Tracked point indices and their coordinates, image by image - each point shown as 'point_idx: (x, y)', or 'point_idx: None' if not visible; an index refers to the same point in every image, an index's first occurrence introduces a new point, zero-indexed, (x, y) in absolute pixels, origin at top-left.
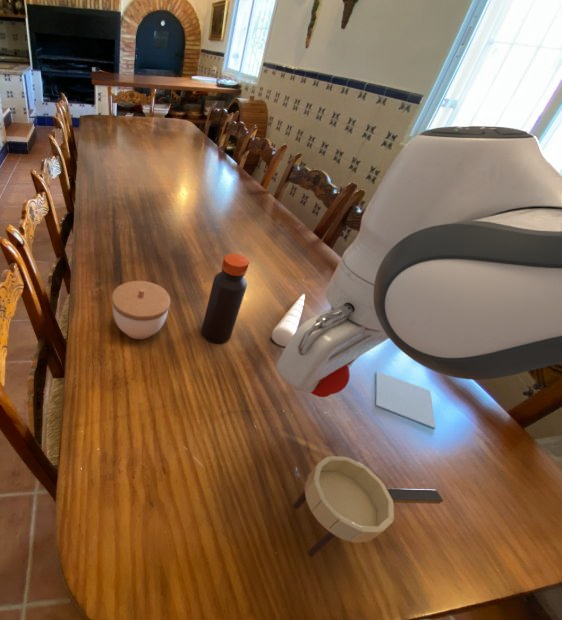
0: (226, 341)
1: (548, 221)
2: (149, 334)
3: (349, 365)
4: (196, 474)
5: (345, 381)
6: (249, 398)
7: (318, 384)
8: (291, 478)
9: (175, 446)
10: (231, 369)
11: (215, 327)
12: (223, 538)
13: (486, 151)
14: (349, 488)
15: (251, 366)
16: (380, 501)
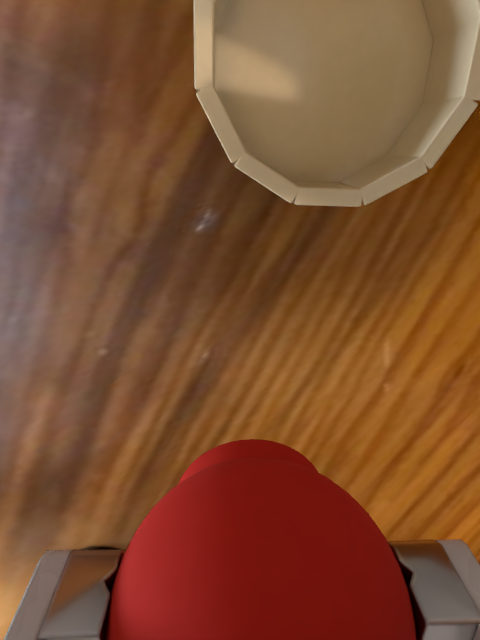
0: (94, 549)
1: None
2: None
3: (52, 615)
4: (412, 333)
5: (277, 570)
6: (160, 413)
7: (437, 597)
8: (231, 216)
9: (401, 399)
10: (141, 487)
11: None
12: (472, 204)
13: None
14: (258, 85)
15: (84, 474)
16: None
